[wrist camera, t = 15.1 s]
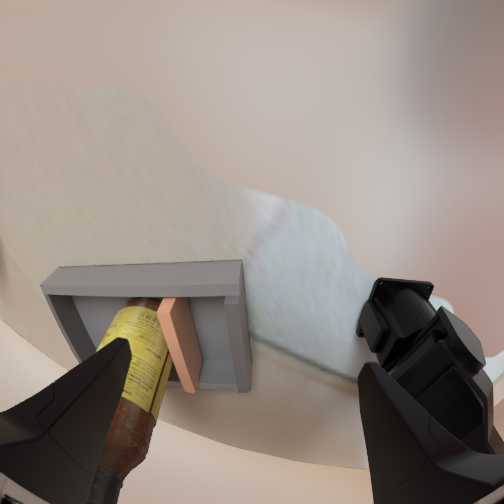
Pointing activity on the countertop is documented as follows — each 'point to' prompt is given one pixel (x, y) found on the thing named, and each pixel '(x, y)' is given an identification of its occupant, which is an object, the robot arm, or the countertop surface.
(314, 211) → the countertop surface
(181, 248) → the countertop surface
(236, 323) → the tray
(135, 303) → the sauce bottle
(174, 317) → the plate
